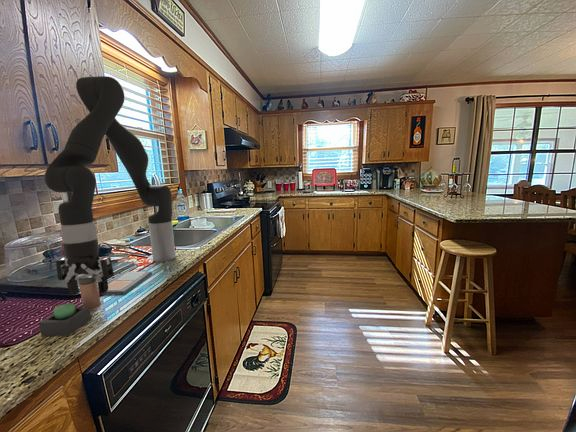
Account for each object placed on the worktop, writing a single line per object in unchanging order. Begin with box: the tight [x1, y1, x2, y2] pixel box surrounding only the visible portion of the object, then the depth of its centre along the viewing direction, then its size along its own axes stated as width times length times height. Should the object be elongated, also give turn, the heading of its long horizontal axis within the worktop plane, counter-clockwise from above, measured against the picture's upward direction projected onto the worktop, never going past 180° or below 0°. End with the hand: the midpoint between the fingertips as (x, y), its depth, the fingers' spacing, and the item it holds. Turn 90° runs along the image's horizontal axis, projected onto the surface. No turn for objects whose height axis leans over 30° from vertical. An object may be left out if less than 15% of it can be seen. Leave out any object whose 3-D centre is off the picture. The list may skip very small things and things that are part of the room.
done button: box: [52, 302, 76, 319], centre depth 62 cm, size 4×4×2 cm
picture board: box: [98, 270, 153, 295], centre depth 87 cm, size 16×10×1 cm, turn 0°
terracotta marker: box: [77, 274, 101, 310], centre depth 72 cm, size 4×4×9 cm
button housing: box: [38, 306, 92, 337], centre depth 63 cm, size 7×7×4 cm
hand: (88, 292), depth 72 cm, fingers open, 8 cm apart
